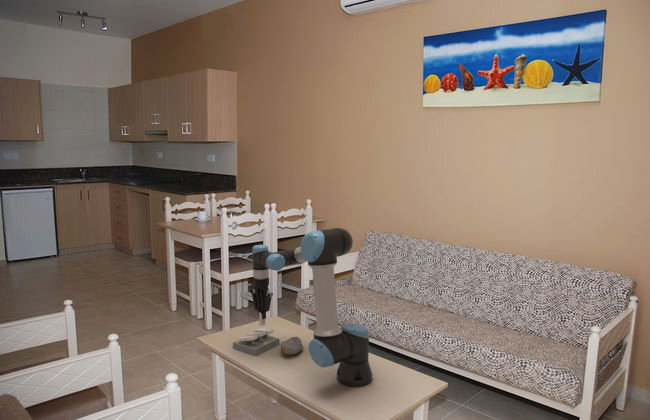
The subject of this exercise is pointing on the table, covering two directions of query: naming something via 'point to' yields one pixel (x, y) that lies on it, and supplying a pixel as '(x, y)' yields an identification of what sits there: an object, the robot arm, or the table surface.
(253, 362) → the table surface
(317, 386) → the table surface
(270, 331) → the rocker
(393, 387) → the table surface
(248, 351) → the switch unit
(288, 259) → the robot arm
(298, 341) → the seashell
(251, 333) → the rocker
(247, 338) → the plate
